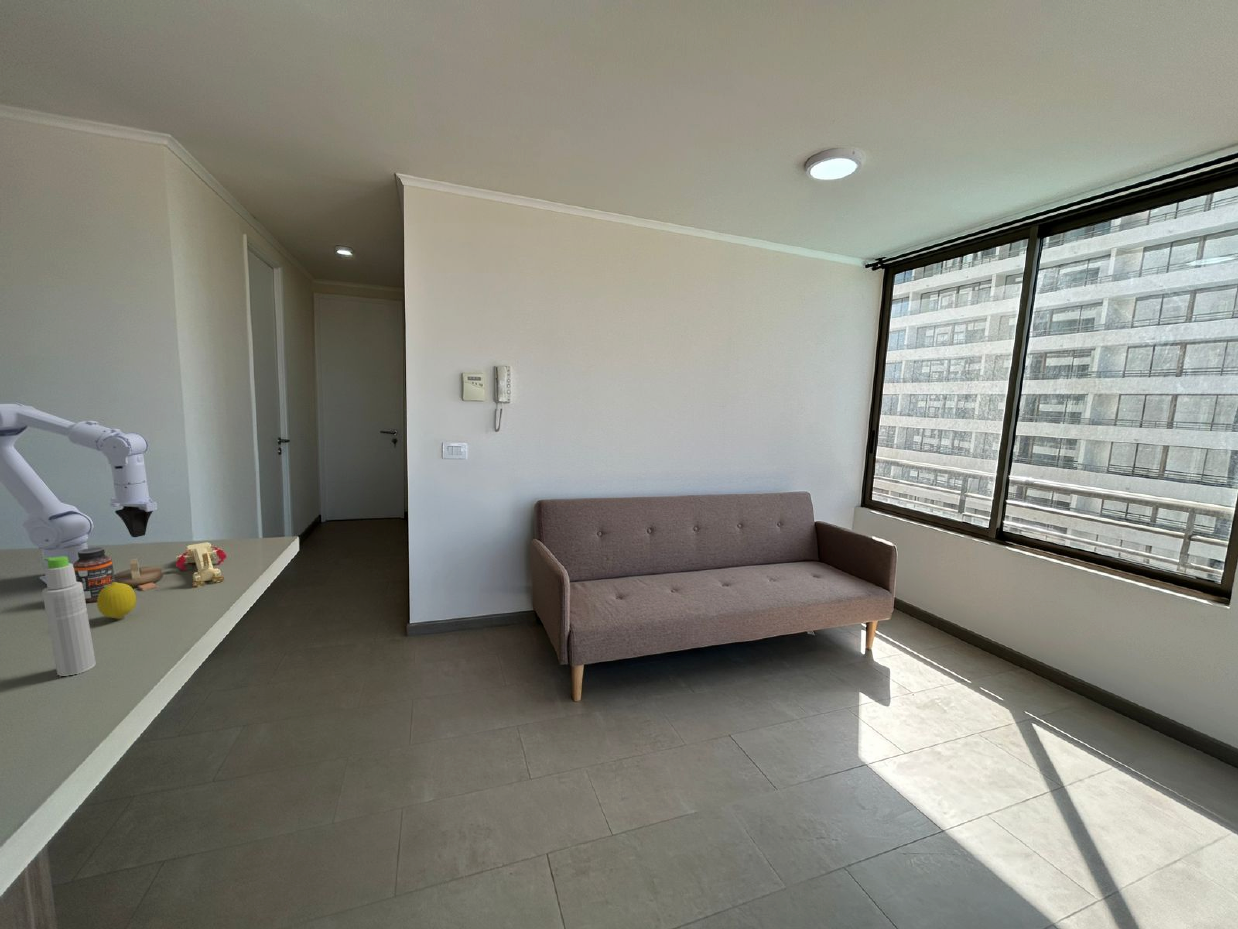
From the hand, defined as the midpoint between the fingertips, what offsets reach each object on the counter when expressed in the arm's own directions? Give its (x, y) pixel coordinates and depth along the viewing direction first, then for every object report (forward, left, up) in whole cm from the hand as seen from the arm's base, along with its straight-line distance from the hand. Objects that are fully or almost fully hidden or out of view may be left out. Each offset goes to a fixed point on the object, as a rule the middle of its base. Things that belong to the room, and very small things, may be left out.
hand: (138, 536), depth 119 cm
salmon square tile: (+10, -2, -10) cm, 15 cm away
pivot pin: (+4, -2, -8) cm, 9 cm away
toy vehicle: (+8, +9, -11) cm, 16 cm away
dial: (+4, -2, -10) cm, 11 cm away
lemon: (+25, -11, -11) cm, 29 cm away
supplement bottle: (+8, -10, -11) cm, 17 cm away
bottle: (+43, -21, -11) cm, 49 cm away
